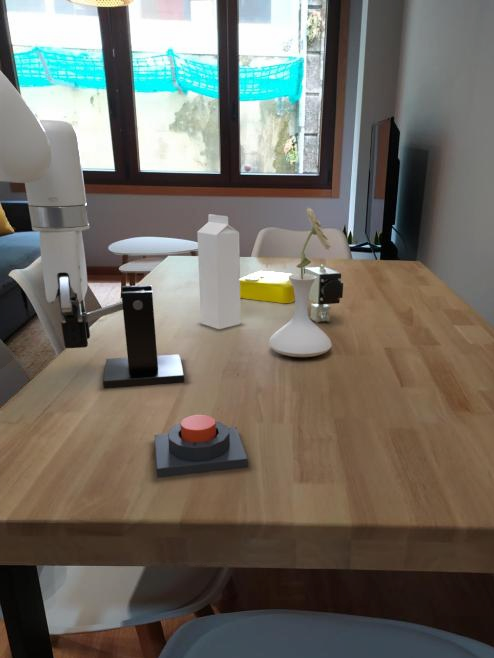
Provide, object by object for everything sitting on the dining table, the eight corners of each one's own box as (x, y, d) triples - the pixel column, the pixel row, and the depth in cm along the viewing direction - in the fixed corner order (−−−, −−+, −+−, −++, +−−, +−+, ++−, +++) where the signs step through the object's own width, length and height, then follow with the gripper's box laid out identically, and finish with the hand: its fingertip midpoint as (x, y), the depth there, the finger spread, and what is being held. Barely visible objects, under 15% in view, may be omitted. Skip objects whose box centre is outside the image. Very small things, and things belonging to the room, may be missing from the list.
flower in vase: (323, 366, 92) (330, 212, 83) (259, 358, 95) (260, 209, 86) (339, 343, 104) (347, 206, 94) (282, 337, 107) (284, 204, 97)
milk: (222, 318, 118) (220, 213, 110) (241, 324, 115) (240, 215, 106) (200, 323, 114) (196, 214, 106) (218, 329, 110) (216, 217, 102)
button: (182, 445, 61) (181, 431, 60) (180, 429, 64) (179, 416, 63) (218, 441, 62) (217, 428, 61) (213, 426, 65) (213, 413, 64)
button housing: (157, 478, 59) (155, 454, 58) (155, 443, 66) (153, 421, 65) (247, 467, 61) (247, 444, 60) (236, 435, 69) (235, 413, 67)
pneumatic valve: (321, 328, 113) (323, 270, 108) (299, 314, 123) (301, 260, 118) (344, 326, 115) (348, 269, 110) (322, 312, 125) (324, 259, 120)
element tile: (289, 304, 131) (290, 284, 129) (234, 297, 136) (233, 278, 134) (310, 291, 144) (311, 273, 142) (259, 286, 149) (259, 268, 147)
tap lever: (66, 337, 81) (57, 318, 79) (68, 331, 84) (59, 312, 82) (150, 309, 82) (143, 290, 81) (150, 304, 85) (142, 285, 84)
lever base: (103, 388, 82) (92, 298, 76) (106, 365, 90) (97, 283, 85) (184, 382, 84) (179, 294, 79) (179, 360, 93) (175, 280, 88)
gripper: (40, 212, 82) (59, 328, 89) (19, 226, 68) (43, 363, 75) (92, 212, 84) (106, 326, 91) (82, 225, 69) (100, 359, 77)
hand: (78, 341), depth 83 cm, fingers closed on tap lever, 3 cm apart
